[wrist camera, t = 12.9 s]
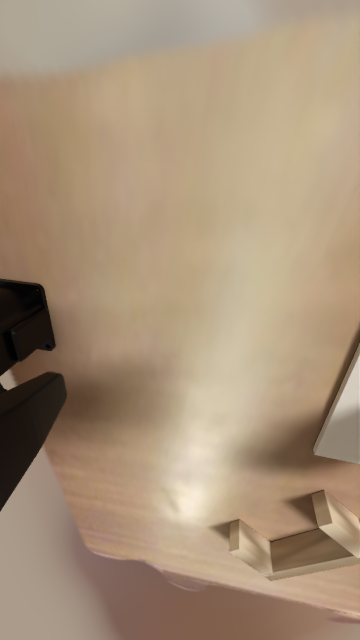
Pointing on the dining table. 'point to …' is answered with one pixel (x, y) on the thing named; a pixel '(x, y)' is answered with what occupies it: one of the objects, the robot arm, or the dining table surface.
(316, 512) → the bottle cradle
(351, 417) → the white mat
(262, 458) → the dining table surface
